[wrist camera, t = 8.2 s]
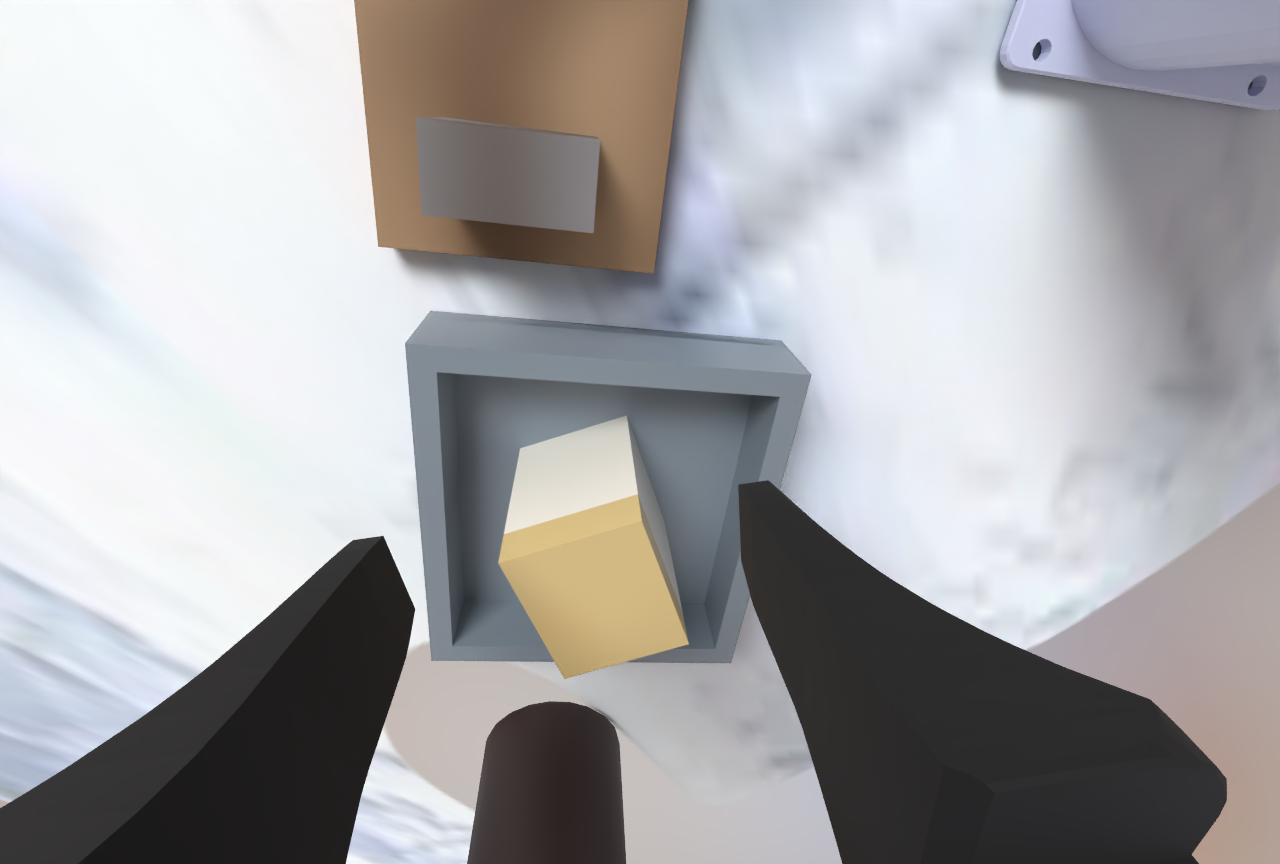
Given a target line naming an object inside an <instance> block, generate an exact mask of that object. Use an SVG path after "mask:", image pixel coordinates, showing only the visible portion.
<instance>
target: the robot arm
mask: <svg viewBox="0 0 1280 864" xmlns="http://www.w3.org/2000/svg"><path fill="white" fill-rule="evenodd" d="M1038 42H1040V44H1041V47H1042V48H1041V54H1040V55H1039V57H1038V59H1036V60H1034V59H1033V56H1032V53H1033V48H1034V47H1035V45H1036V43H1038ZM1000 61H1001V63H1002V65H1003V66H1004V68H1007V69H1009V70H1013V71H1020V72H1026V73H1032V74H1039V75H1045V76H1051V77H1058V78H1064V79H1070V80H1077V81H1083V82H1089V83H1096V84H1102V85H1108V86H1114V87H1121V88H1127V89H1133V90H1140V91H1146V92H1152V93H1159V94H1165V95H1171V96H1178V97H1184V98H1190V99H1196V100H1203V101H1209V102H1215V103H1222V104H1228V105H1234V106H1241V107H1247V108H1253V109H1260V110H1278V109H1280V0H1017V2H1016V5H1015V8H1014V11H1013V13H1012V16H1011V19H1010V22H1009V25H1008V28H1007V31H1006V34H1005V36H1004V39H1003V42H1002V45H1001V49H1000ZM1252 80H1253V84H1252V87H1251V89H1250V90H1249V91H1248V87H1249V84H1250V83H1251V82H1252ZM738 493H739V519H740V545H741V562H742V566H743V570H744V574H745V577H746V581H747V585H748V588H749V592H750V595H751V599H752V602H753V606H754V608H755V611H756V613H757V616H758V618H759V621H760V623H761V626H762V628H763V631H764V633H765V635H766V638H767V640H768V643H769V645H770V648H771V650H772V653H773V655H774V657H775V660H776V662H777V665H778V667H779V670H780V672H781V674H782V677H783V679H784V682H785V684H786V687H787V689H788V691H789V694H790V696H791V699H792V701H793V704H794V706H795V709H796V712H797V714H798V717H799V720H800V723H801V725H802V728H803V731H804V735H805V738H806V741H807V744H808V748H809V751H810V754H811V758H812V761H813V764H814V767H815V771H816V774H817V777H818V780H819V784H820V787H821V790H822V794H823V798H824V801H825V804H826V807H827V811H828V815H829V818H830V821H831V825H832V828H833V832H834V835H835V839H836V842H837V846H838V849H839V852H840V857H841V860H842V864H1199V863H1198V862H1197V861H1196V860H1195V858H1194V857H1193V856H1192V855H1191V854H1192V853H1193V851H1194V850H1195V848H1196V847H1197V846H1198V844H1199V843H1200V842H1201V840H1202V839H1203V837H1204V836H1205V835H1206V833H1207V832H1208V831H1209V829H1210V828H1211V826H1212V825H1213V824H1214V822H1215V821H1216V819H1217V818H1218V817H1219V815H1220V813H1221V811H1222V809H1223V807H1224V805H1225V803H1226V800H1227V784H1226V783H1227V782H1226V778H1225V776H1224V775H1223V774H1222V773H1221V771H1220V770H1219V769H1218V768H1217V766H1216V765H1215V764H1214V763H1213V762H1212V761H1211V760H1210V759H1209V758H1208V757H1207V756H1206V755H1205V754H1204V753H1203V752H1202V751H1201V750H1200V749H1199V748H1198V747H1197V746H1196V744H1195V743H1194V742H1193V741H1192V740H1191V739H1190V738H1189V737H1188V736H1187V735H1186V734H1185V733H1184V732H1183V731H1182V730H1181V729H1180V728H1179V727H1178V726H1177V725H1176V724H1175V723H1174V722H1173V721H1172V720H1171V719H1170V718H1169V717H1168V716H1167V715H1166V714H1165V713H1164V712H1163V711H1162V710H1161V709H1160V708H1159V707H1158V706H1157V705H1155V704H1154V703H1153V702H1152V701H1151V700H1150V699H1147V698H1145V697H1142V696H1139V695H1137V694H1134V693H1131V692H1129V691H1126V690H1123V689H1121V688H1118V687H1115V686H1113V685H1110V684H1107V683H1105V682H1102V681H1099V680H1097V679H1094V678H1091V677H1089V676H1086V675H1083V674H1081V673H1078V672H1075V671H1073V670H1070V669H1067V668H1065V667H1062V666H1060V665H1058V664H1055V663H1053V662H1051V661H1048V660H1046V659H1044V658H1041V657H1039V656H1037V655H1035V654H1032V653H1030V652H1028V651H1025V650H1023V649H1021V648H1019V647H1016V646H1014V645H1012V644H1010V643H1008V642H1005V641H1003V640H1001V639H999V638H997V637H995V636H993V635H991V634H988V633H986V632H984V631H982V630H980V629H978V628H977V627H975V626H973V625H971V624H969V623H967V622H965V621H963V620H961V619H959V618H957V617H955V616H953V615H951V614H949V613H948V612H946V611H944V610H942V609H940V608H939V607H937V606H935V605H933V604H931V603H930V602H928V601H926V600H924V599H923V598H921V597H919V596H918V595H916V594H915V593H913V592H911V591H910V590H908V589H906V588H905V587H903V586H901V585H900V584H898V583H897V582H895V581H893V580H892V579H890V578H889V577H887V576H886V575H884V574H883V573H881V572H880V571H878V570H877V569H875V568H874V567H873V566H871V565H870V564H868V563H867V562H866V561H864V560H863V559H861V558H860V557H859V556H857V555H856V554H855V553H853V552H852V551H851V550H849V549H848V548H847V547H845V546H844V545H843V544H842V543H840V542H839V541H838V540H837V539H835V538H834V537H833V536H832V535H831V534H829V533H828V532H827V531H826V530H824V529H823V528H822V527H821V526H819V525H818V524H817V523H816V522H815V521H814V520H812V519H811V518H810V517H809V516H808V515H807V514H806V513H804V512H803V511H802V510H801V509H800V508H799V507H798V506H796V505H795V504H794V503H793V502H792V501H791V500H790V499H789V498H788V497H787V496H785V495H784V494H783V493H782V492H781V491H780V490H779V489H778V488H777V487H776V486H775V485H773V484H772V483H771V482H770V481H768V480H766V481H759V482H752V483H745V484H739V485H738ZM414 612H415V608H414V605H413V603H412V601H411V598H410V596H409V594H408V592H407V589H406V587H405V585H404V582H403V580H402V578H401V575H400V573H399V571H398V569H397V566H396V564H395V562H394V559H393V557H392V555H391V553H390V550H389V548H388V546H387V543H386V541H385V539H384V537H383V536H379V537H372V538H366V539H359V540H353V541H352V542H350V543H349V544H348V545H347V546H345V547H344V548H343V549H342V550H341V551H339V552H338V553H337V554H336V555H335V556H334V557H333V558H331V559H330V560H329V561H328V562H327V563H326V564H325V565H324V566H323V567H322V568H320V569H319V570H318V571H317V572H316V573H315V574H314V575H313V576H312V577H311V578H310V579H308V580H307V581H306V582H305V583H304V584H303V585H302V586H301V587H300V588H299V589H298V590H296V591H295V592H294V593H293V594H292V595H291V596H290V597H289V598H288V599H287V600H285V601H284V602H283V603H282V604H281V605H280V606H279V607H278V608H277V609H276V610H274V611H273V612H272V613H271V614H270V615H269V616H268V617H267V618H266V619H264V620H263V621H262V622H261V623H260V624H259V625H257V626H256V627H255V628H254V629H253V630H252V631H250V632H249V633H248V634H247V635H246V636H245V637H243V638H242V639H241V640H240V641H239V642H237V643H236V644H235V645H234V646H233V647H232V648H230V649H229V650H228V651H227V652H226V653H225V654H223V655H222V656H221V657H220V658H219V659H218V660H216V661H215V662H214V663H213V664H211V665H210V666H209V667H208V668H206V669H205V670H204V671H203V672H201V673H200V674H199V675H198V676H196V677H195V678H194V679H192V680H191V681H190V682H189V683H187V684H186V685H185V686H183V687H182V688H181V689H179V690H178V691H177V692H175V693H174V694H173V695H171V696H170V697H169V698H167V699H166V700H165V701H163V702H162V703H161V704H159V705H158V706H157V707H155V708H154V709H153V710H151V711H150V712H148V713H147V714H146V715H144V716H143V717H141V718H140V719H139V720H137V721H136V722H134V723H133V724H131V725H130V726H128V727H127V728H125V729H124V730H122V731H121V732H119V733H118V734H116V735H115V736H113V737H112V738H110V739H109V740H107V741H106V742H104V743H103V744H101V745H100V746H98V747H97V748H95V749H94V750H92V751H91V752H89V753H88V754H86V755H85V756H83V757H82V758H81V759H79V760H78V761H76V762H75V763H73V764H72V765H70V766H68V767H67V768H65V769H64V770H62V771H61V772H59V773H57V774H56V775H54V776H53V777H51V778H49V779H48V780H46V781H44V782H43V783H41V784H40V785H38V786H36V787H35V788H33V789H32V790H30V791H28V792H27V793H25V794H23V795H22V796H20V797H18V798H17V799H15V800H13V801H12V802H10V803H8V804H7V805H5V806H3V807H2V808H0V864H346V859H347V854H348V850H349V845H350V841H351V837H352V833H353V828H354V824H355V820H356V815H357V811H358V807H359V802H360V798H361V794H362V791H363V787H364V784H365V780H366V777H367V774H368V770H369V767H370V764H371V761H372V758H373V755H374V752H375V749H376V746H377V743H378V740H379V737H380V734H381V731H382V728H383V726H384V723H385V719H386V717H387V714H388V711H389V708H390V705H391V702H392V699H393V696H394V693H395V690H396V687H397V683H398V681H399V678H400V674H401V671H402V668H403V665H404V662H405V659H406V655H407V650H408V645H409V641H410V636H411V630H412V624H413V618H414Z"/></svg>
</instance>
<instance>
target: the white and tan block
mask: <svg viewBox="0 0 1280 864" xmlns="http://www.w3.org/2000/svg"><path fill="white" fill-rule="evenodd" d="M498 564H499V565H500V567H501V569H502V571H503V572H504V574H505V576H506V578H507V579H508V581H509V583H510V585H511V586H512V588H513V590H514V592H515V593H516V595H517V597H518V599H519V600H520V602H521V604H522V606H523V607H524V609H525V611H526V613H527V614H528V616H529V618H530V619H531V621H532V623H533V625H534V626H535V628H536V630H537V632H538V633H539V635H540V637H541V639H542V640H543V642H544V644H545V646H546V647H547V649H548V651H549V653H550V654H551V656H552V658H553V660H554V661H555V663H556V665H557V667H558V668H559V670H560V672H561V674H562V675H563V677H564V679H566V678H569V677H573V676H576V675H580V674H584V673H587V672H591V671H594V670H598V669H602V668H605V667H609V666H612V665H616V664H619V663H623V662H627V661H630V660H634V659H637V658H641V657H645V656H648V655H652V654H655V653H659V652H663V651H666V650H670V649H673V648H677V647H681V646H684V645H688V644H689V642H688V637H687V632H686V627H685V622H684V617H683V612H682V607H681V602H680V597H679V592H678V587H677V582H676V577H675V572H674V566H673V561H672V556H671V551H670V546H669V541H668V536H667V531H666V526H665V521H664V519H663V516H662V513H661V510H660V507H659V505H658V502H657V499H656V496H655V493H654V491H653V488H652V485H651V482H650V479H649V477H648V474H647V471H646V468H645V465H644V463H643V460H642V457H641V454H640V451H639V449H638V446H637V443H636V440H635V437H634V435H633V432H632V429H631V426H630V423H629V421H628V418H627V416H623V417H620V418H617V419H614V420H610V421H607V422H604V423H601V424H598V425H594V426H591V427H588V428H585V429H581V430H578V431H575V432H572V433H568V434H565V435H562V436H559V437H556V438H552V439H549V440H546V441H543V442H539V443H536V444H533V445H530V446H527V447H523V448H520V452H519V457H518V462H517V468H516V473H515V478H514V483H513V488H512V494H511V499H510V504H509V509H508V515H507V520H506V525H505V530H504V536H503V541H502V546H501V551H500V556H499V562H498Z"/></svg>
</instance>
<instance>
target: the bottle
mask: <svg viewBox="0 0 1280 864" xmlns="http://www.w3.org/2000/svg"><path fill="white" fill-rule="evenodd" d="M467 864H626V853H625V835H624V819H623V800H622V782H621V764H620V747H619V741H618V737H617V733H616V730H615V727H614V726H613V725H612V724H611V723H610V721H609V720H608V719H607V718H606V717H605V716H603V715H602V714H600V713H598V712H596V711H594V710H593V709H591V708H589V707H587V706H582V705H578V704H575V703H571V702H544V703H538V704H532V705H528V706H526V707H523V708H521V709H519V710H516V711H514V712H512V713H510V714H508V715H507V716H506V717H505V718H503V719H502V720H501V721H499V722H498V723H497V724H496V725H495V727H494V728H493V730H492V731H491V733H490V735H489V737H488V738H487V741H486V747H485V753H484V760H483V766H482V773H481V779H480V785H479V792H478V798H477V804H476V811H475V817H474V824H473V830H472V836H471V843H470V849H469V856H468V862H467Z"/></svg>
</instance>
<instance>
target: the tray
mask: <svg viewBox="0 0 1280 864" xmlns="http://www.w3.org/2000/svg"><path fill="white" fill-rule="evenodd" d="M405 347H406V359H407V371H408V383H409V395H410V407H411V419H412V431H413V443H414V455H415V467H416V479H417V492H418V504H419V516H420V528H421V540H422V552H423V564H424V576H425V588H426V600H427V612H428V624H429V636H430V647H431V660H432V661H541V662H555V661H554V660H553V658H552V656H551V654H550V653H549V651H548V649H547V647H546V646H545V644H544V642H543V640H542V639H541V637H540V635H539V633H538V632H537V630H536V628H535V626H534V625H533V623H532V621H531V619H530V618H529V616H528V614H527V613H526V611H525V609H524V607H523V606H522V604H521V602H520V600H519V599H518V597H517V595H516V593H515V592H514V590H513V588H512V586H511V585H510V583H509V581H508V579H507V578H506V576H505V574H504V572H503V571H502V569H501V567H500V565H499V564H498V562H499V556H500V551H501V546H502V541H503V536H504V530H505V525H506V520H507V515H508V509H509V504H510V499H511V494H512V488H513V483H514V478H515V473H516V468H517V462H518V457H519V452H520V448H523V447H527V446H530V445H533V444H536V443H539V442H543V441H546V440H549V439H552V438H556V437H559V436H562V435H565V434H568V433H572V432H575V431H578V430H581V429H585V428H588V427H591V426H594V425H598V424H601V423H604V422H607V421H610V420H614V419H617V418H620V417H623V416H627V418H628V421H629V423H630V426H631V429H632V432H633V435H634V437H635V440H636V443H637V446H638V449H639V451H640V454H641V457H642V460H643V463H644V465H645V468H646V471H647V474H648V477H649V479H650V482H651V485H652V488H653V491H654V493H655V496H656V499H657V502H658V505H659V507H660V510H661V513H662V516H663V519H664V521H665V526H666V531H667V536H668V541H669V546H670V551H671V556H672V561H673V566H674V572H675V577H676V582H677V587H678V592H679V597H680V602H681V607H682V612H683V617H684V622H685V627H686V632H687V637H688V642H689V644H688V645H684V646H681V647H677V648H673V649H670V650H666V651H663V652H659V653H655V654H652V655H648V656H645V657H641V658H637V659H634V660H630V661H627V662H668V663H731V660H732V657H733V653H734V650H735V646H736V643H737V639H738V635H739V632H740V628H741V625H742V621H743V618H744V614H745V610H746V607H747V603H748V600H749V596H750V592H749V588H748V585H747V581H746V577H745V574H744V570H743V566H742V562H741V545H740V519H739V493H738V485H739V484H745V483H752V482H759V481H766V480H768V481H770V482H771V483H772V484H773V485H775V486H776V487H777V488H778V489H780V486H781V482H782V478H783V475H784V471H785V468H786V464H787V461H788V457H789V453H790V450H791V446H792V443H793V439H794V436H795V432H796V428H797V425H798V421H799V418H800V414H801V411H802V407H803V403H804V400H805V396H806V393H807V389H808V386H809V382H810V378H811V374H810V373H809V371H808V370H807V369H806V368H805V367H804V366H803V365H802V363H801V362H800V361H799V360H798V359H797V358H796V357H795V355H794V354H793V353H792V352H791V351H790V350H789V349H788V347H787V346H786V345H785V344H784V343H783V342H782V341H778V340H767V339H755V338H743V337H731V336H720V335H708V334H696V333H684V332H673V331H661V330H649V329H637V328H625V327H614V326H602V325H590V324H578V323H567V322H555V321H543V320H531V319H520V318H508V317H496V316H484V315H473V314H461V313H449V312H437V311H430V312H429V314H428V315H427V316H426V317H425V319H424V320H423V321H422V323H421V324H420V325H419V326H418V328H417V329H416V330H415V332H414V333H413V334H412V335H411V337H410V338H409V339H408V340H407V342H406V343H405Z"/></svg>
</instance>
